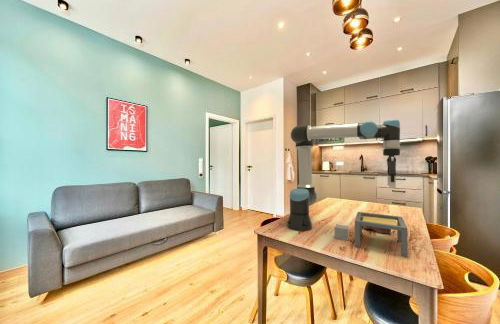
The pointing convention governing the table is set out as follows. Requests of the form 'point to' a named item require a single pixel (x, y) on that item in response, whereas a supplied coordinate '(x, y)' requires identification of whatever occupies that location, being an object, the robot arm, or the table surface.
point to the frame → (401, 227)
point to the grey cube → (341, 232)
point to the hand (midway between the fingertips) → (391, 186)
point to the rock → (377, 228)
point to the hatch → (380, 220)
